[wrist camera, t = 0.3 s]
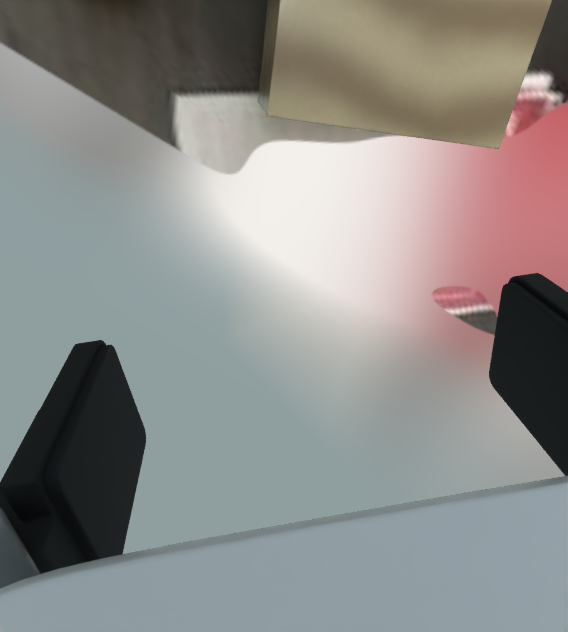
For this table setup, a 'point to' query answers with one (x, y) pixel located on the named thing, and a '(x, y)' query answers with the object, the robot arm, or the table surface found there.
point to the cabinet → (400, 64)
